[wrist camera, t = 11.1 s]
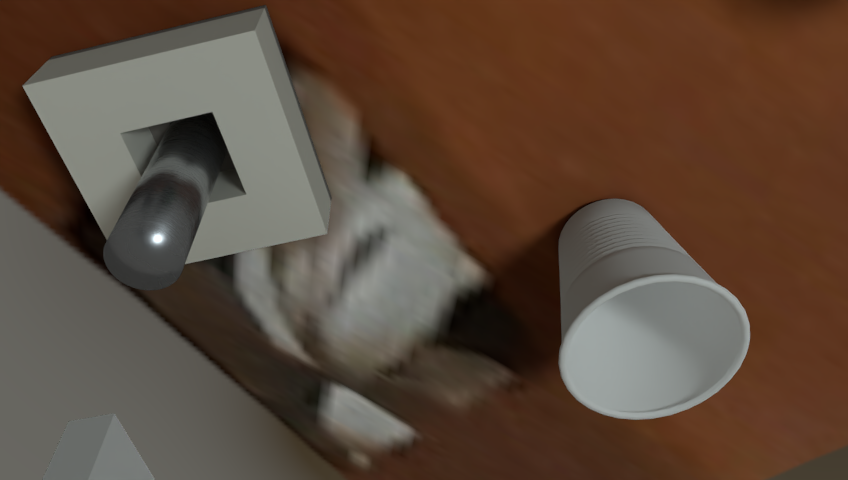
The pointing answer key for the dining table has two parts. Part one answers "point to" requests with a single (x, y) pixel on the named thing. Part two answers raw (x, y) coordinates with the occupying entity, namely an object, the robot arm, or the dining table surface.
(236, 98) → the bore block
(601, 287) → the cup
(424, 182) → the dining table surface
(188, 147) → the pin
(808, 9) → the dining table surface
